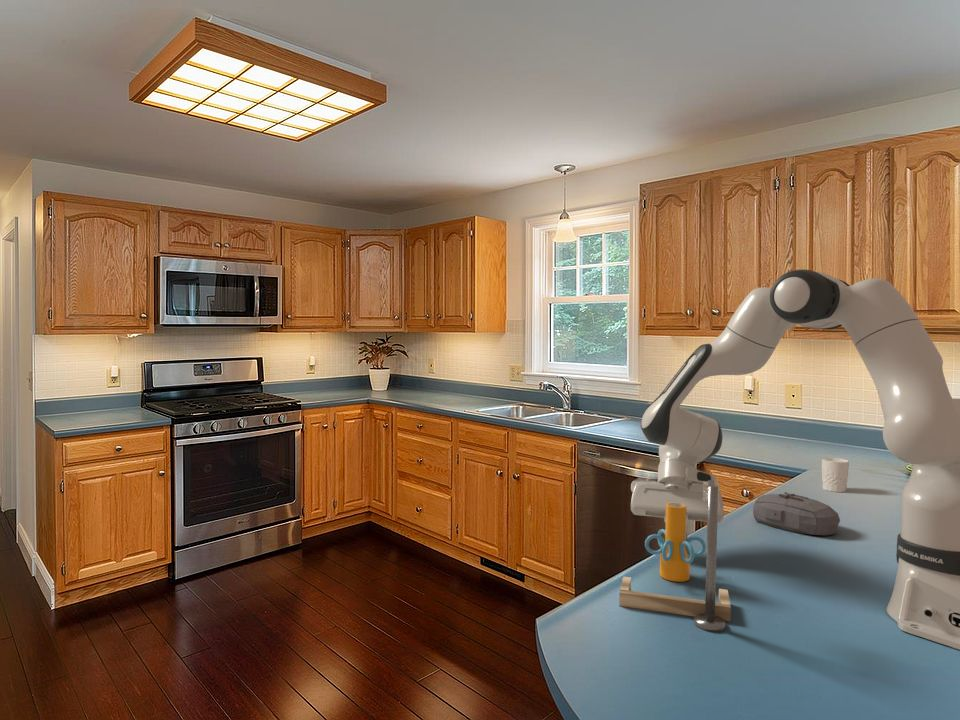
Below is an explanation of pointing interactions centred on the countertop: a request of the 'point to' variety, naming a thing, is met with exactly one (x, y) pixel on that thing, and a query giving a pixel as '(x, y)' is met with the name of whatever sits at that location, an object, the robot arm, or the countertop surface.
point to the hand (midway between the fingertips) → (675, 534)
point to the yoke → (671, 602)
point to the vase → (675, 545)
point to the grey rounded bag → (796, 514)
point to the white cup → (834, 474)
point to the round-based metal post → (710, 561)
